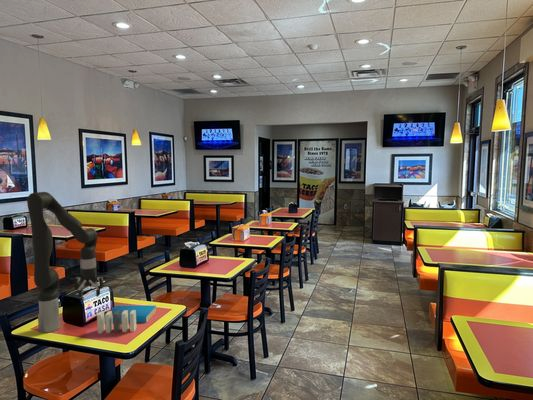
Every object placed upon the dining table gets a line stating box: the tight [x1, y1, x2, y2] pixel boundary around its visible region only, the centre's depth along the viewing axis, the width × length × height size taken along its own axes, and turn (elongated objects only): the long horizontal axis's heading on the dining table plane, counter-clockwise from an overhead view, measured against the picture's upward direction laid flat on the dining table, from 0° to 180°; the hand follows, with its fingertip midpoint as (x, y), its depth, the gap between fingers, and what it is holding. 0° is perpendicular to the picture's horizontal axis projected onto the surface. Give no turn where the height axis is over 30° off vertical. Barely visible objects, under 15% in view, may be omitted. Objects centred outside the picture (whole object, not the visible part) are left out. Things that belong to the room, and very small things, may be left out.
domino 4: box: [121, 310, 130, 333], centre depth 201 cm, size 2×5×10 cm, turn 6°
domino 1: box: [96, 311, 106, 334], centre depth 200 cm, size 2×5×10 cm, turn 5°
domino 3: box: [113, 311, 122, 334], centre depth 201 cm, size 2×5×10 cm, turn 5°
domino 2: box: [104, 310, 114, 334], centre depth 200 cm, size 2×5×10 cm, turn 6°
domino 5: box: [129, 310, 137, 333], centre depth 202 cm, size 2×5×10 cm, turn 6°
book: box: [104, 304, 157, 323], centre depth 220 cm, size 17×4×25 cm
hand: (89, 296), depth 198 cm, fingers open, 8 cm apart
